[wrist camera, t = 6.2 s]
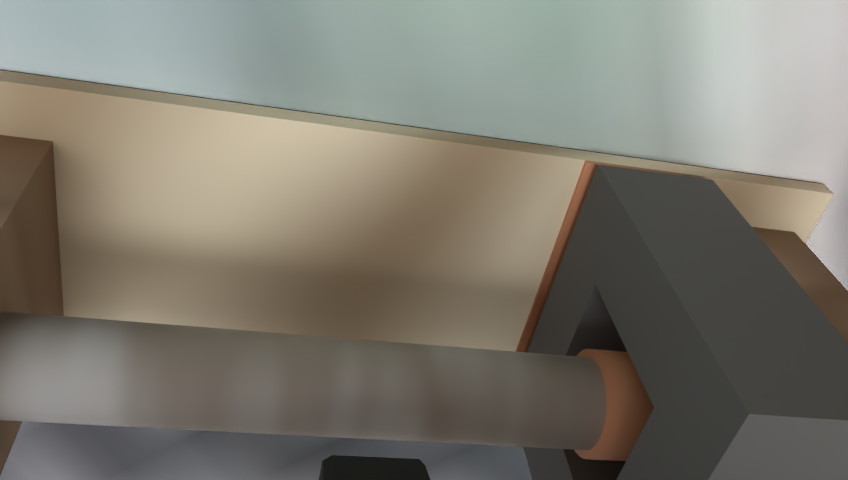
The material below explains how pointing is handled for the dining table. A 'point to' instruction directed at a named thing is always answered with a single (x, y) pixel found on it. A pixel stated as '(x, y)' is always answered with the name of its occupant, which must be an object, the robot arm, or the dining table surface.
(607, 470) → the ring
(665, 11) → the dining table surface
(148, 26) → the dining table surface
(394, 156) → the rail
